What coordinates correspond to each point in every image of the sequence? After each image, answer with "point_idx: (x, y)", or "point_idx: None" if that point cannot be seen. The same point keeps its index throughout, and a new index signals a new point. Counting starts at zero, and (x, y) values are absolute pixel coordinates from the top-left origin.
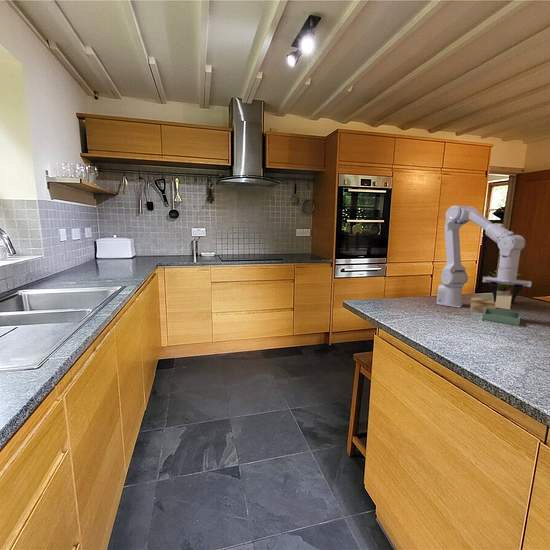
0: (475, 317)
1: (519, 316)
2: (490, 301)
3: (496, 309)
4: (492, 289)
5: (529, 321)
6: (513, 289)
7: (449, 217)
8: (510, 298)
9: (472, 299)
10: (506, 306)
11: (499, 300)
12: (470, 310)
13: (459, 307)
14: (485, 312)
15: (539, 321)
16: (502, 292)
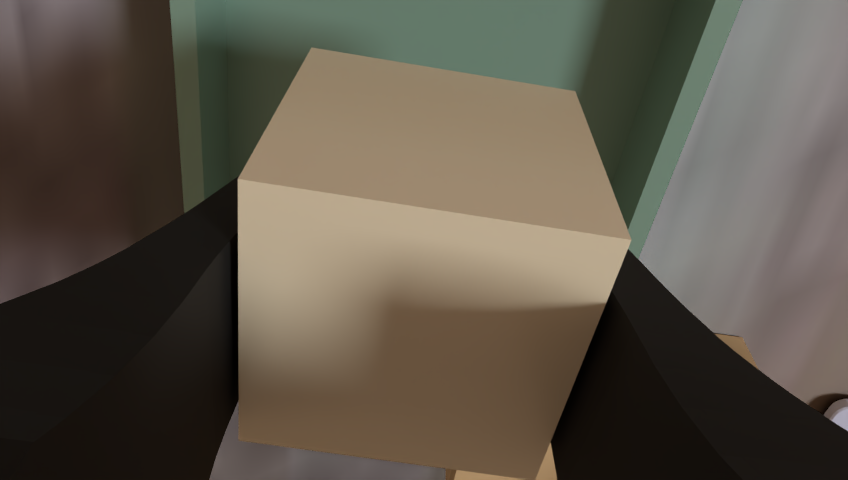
0: (795, 6)
1: (181, 61)
2: (545, 466)
3: None
4: (826, 429)
5: (106, 192)
6: (93, 389)
7: None
8: (270, 164)
9: None
10: (370, 79)
11: (526, 157)
12: (738, 339)
13: (844, 400)
14: (657, 127)
15: (17, 251)
16: None
